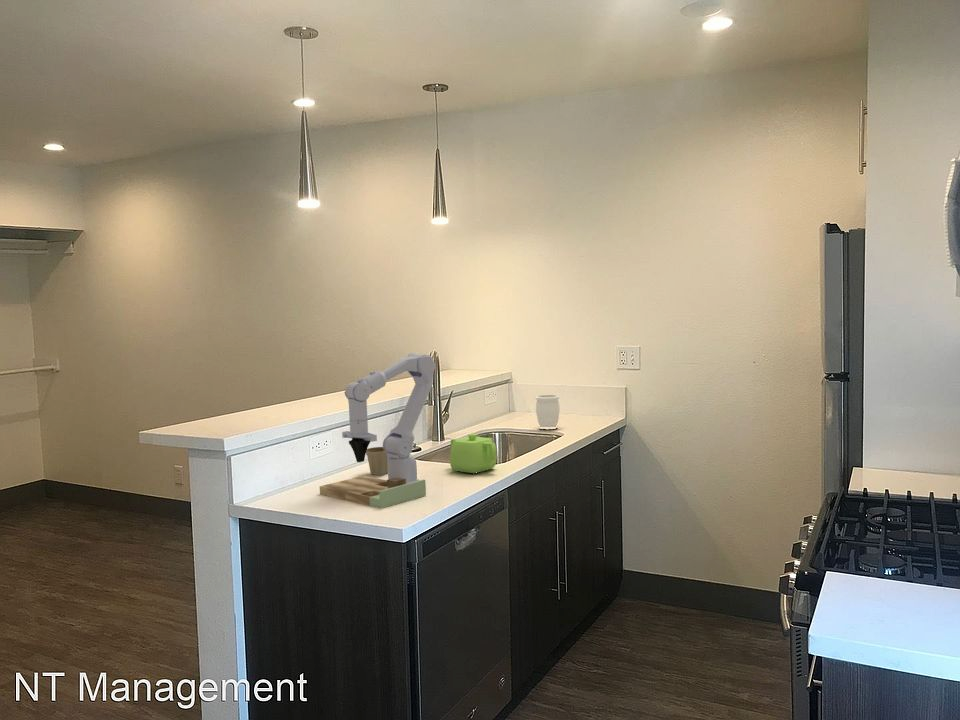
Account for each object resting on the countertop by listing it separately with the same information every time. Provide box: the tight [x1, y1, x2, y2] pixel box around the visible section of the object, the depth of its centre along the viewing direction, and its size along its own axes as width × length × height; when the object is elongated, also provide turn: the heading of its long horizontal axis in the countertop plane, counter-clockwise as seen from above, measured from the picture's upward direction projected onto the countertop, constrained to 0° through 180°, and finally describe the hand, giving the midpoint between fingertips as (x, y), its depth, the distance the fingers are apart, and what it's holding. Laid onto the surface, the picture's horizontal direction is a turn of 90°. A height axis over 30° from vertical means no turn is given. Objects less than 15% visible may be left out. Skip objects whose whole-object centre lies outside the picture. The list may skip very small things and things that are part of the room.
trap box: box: [319, 475, 427, 509], centre depth 255 cm, size 18×30×5 cm, turn 48°
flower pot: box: [365, 446, 388, 476], centre depth 286 cm, size 9×9×9 cm
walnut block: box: [386, 477, 406, 489], centre depth 247 cm, size 4×4×4 cm
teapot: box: [449, 433, 498, 474], centre depth 287 cm, size 18×20×13 cm
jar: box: [535, 394, 560, 427], centre depth 367 cm, size 11×10×15 cm
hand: (360, 461), depth 261 cm, fingers closed
